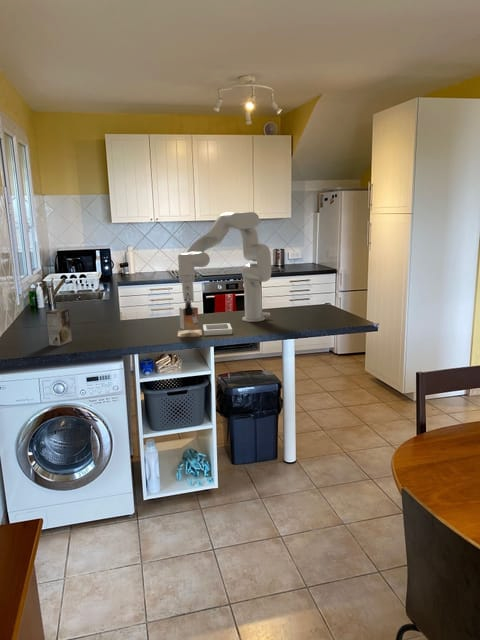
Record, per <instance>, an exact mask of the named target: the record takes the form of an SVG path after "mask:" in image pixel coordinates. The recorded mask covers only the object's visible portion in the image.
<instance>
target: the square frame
mask: <svg viewBox="0 0 480 640" xmlns="http://www.w3.org/2000/svg"><path fill="white" fill-rule="evenodd" d="M202 331H203V335H204V336H217V335H218V336H219V335H221V336H223V335H232V334H233V328H232V326H231V323H230V322H227V323H224V322H223V323H211V324H209V323H208V324H202Z"/></svg>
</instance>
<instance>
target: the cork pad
mask: <svg viewBox="0 0 480 640" xmlns="http://www.w3.org/2000/svg"><path fill="white" fill-rule="evenodd" d="M202 331H203V330H202V329H185V330H184V329H183V330H177V338H191V337H195V338H196V337H203V332H202Z"/></svg>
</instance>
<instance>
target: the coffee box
mask: <svg viewBox="0 0 480 640" xmlns="http://www.w3.org/2000/svg"><path fill="white" fill-rule="evenodd" d="M69 312H70V311H69V309H68V308H55V309H51V310H49V311H46V312H45V316H46V324H47V331H48V339H49V346H56V347H57V346H58V347H59V346H60V347H61V346H63V345H65V344H68V343H70V342H72V341H73V337H72V330H71V321H70V313H69Z"/></svg>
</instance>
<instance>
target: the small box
mask: <svg viewBox="0 0 480 640" xmlns="http://www.w3.org/2000/svg"><path fill="white" fill-rule="evenodd" d="M191 307H192V315H190V316H186V314H185V306H184V307H179V310H178V311H179V313H178V314H179V328H180V329H183V331H184V330H194V329H199V307H197V306H195V305H192V306H191Z"/></svg>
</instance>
